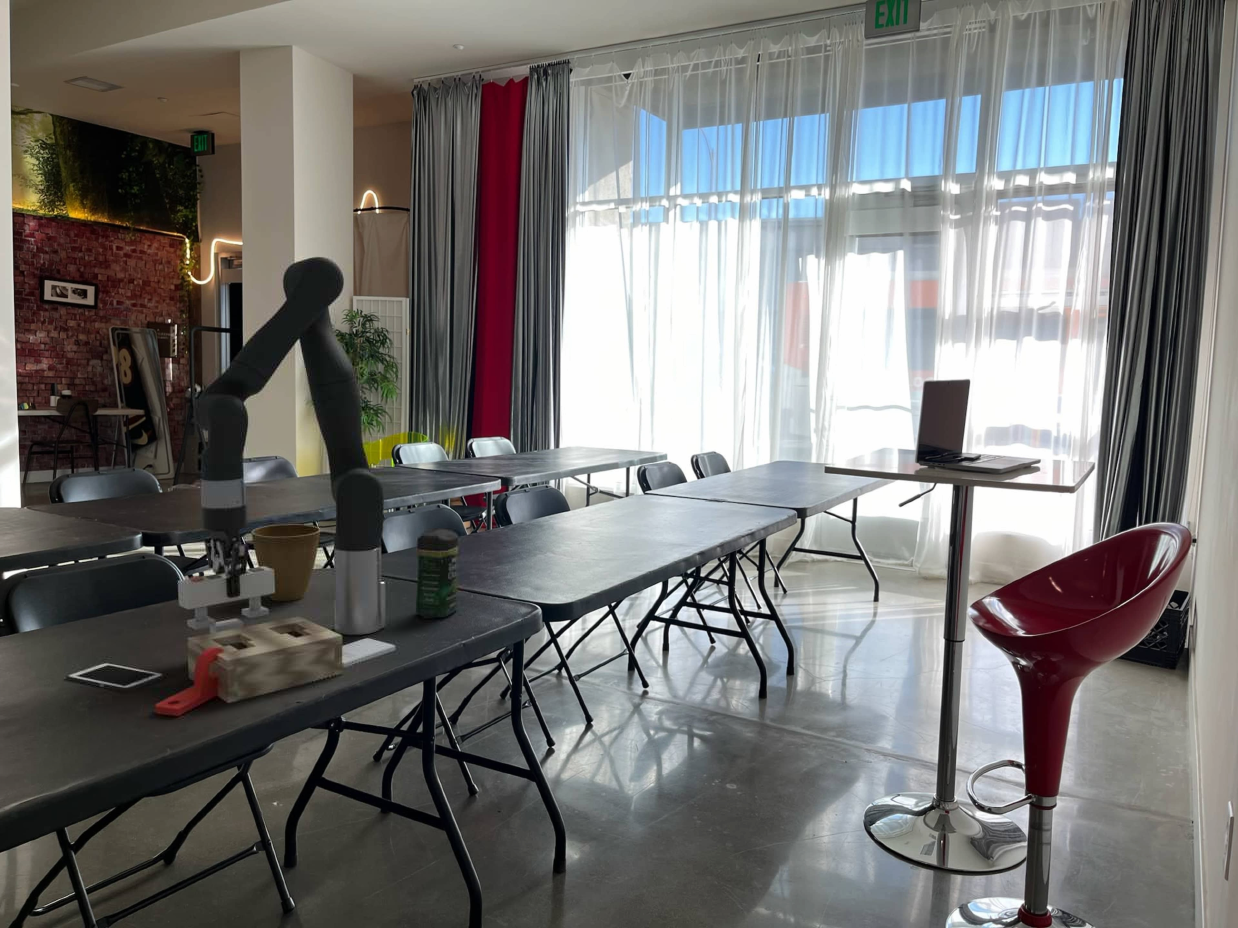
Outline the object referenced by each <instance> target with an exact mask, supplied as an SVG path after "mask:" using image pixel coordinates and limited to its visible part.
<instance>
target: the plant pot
mask: <svg viewBox="0 0 1238 928" xmlns="http://www.w3.org/2000/svg"><path fill="white" fill-rule="evenodd" d="M320 535H321V528H319V527H318V526H315V525H309V524H297V523H293V524H292V523H287V524H272V525H265V526H260V527H258V528H255V529H253V530H251V537H252V543H253V548H254V552H255V558H256V562H257V565H258V567H263V566H265V567H268V568H271V569H274V581H275V593H271V594H268V596H269V598H270V599H271V600H272V601H276V602H291V601H297V600H301V599H302V598H304V597H305V595H306V592H307V589H308V586H309V584H310V582H311V581H310V580H311V577H312V574H313V571H314V567H315V562H316V559H317V555H318V547H319V543H320Z"/></svg>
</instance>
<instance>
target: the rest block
mask: <svg viewBox="0 0 1238 928" xmlns="http://www.w3.org/2000/svg"><path fill="white" fill-rule="evenodd" d="M244 622H245V621H243V620H241V619H238V618H232V619H227V620H222V621H216V626H211V627H209V634H211V633H216V632H221V631H226V630H231V629H237V628H242V627H245V626H244V625H245V624H244Z"/></svg>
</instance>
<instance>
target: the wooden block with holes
mask: <svg viewBox="0 0 1238 928" xmlns="http://www.w3.org/2000/svg"><path fill="white" fill-rule="evenodd" d="M342 646H343V634H341V633H338V632H336V631H332V630H331V629H328V628H327V627H324V626H321V625H320V624H317V623H315V622H312V621H309V620H308V619H306V618H302V617H300V616H294V617H290V618H289V617H288V618H284V619H279V620H274V621H268V622H261V623H257V624H253V625H248V626H244V627H242V628H237V629H231V630H226V631H221V632H216V633H211V634H210V633H206V634H202V635H195V636H192V637H188V638H187V662H188V663H187V664H188V665H187V666H188V667H187V668H188V678H189V679H190V680H192V681H193V682H194V670H195V665H196V662H197V660H198V658H199V656H200V655H201V654H202V652H203V651H205V650H206V649H208V648H211V647H213V648H221V649H223V650H224V651H223V652H221V653H219V654H217V660H216V661H214V662H212V663H211V665H210V667H209V676H211V675H212V673H213V671H214V672H215V674H216V675H217V685H218V695H217V696H216V697H218V698H220V699H221V700H223V701H225V702H226V703H227V704H230V703H233V702H235V703H236V702H238V701H242V700H246V699H250V698H254V697H257V696H262V695H266V694H268V693H270V694H271V693H273V692H276V691H281V690H284V689H289V688H294V687H297V686H301V685H305V684H308V683H313V682H316V680H317V681H320V680H319V679H321V680H324V679H323V678H325V679H328V678H327V677H329V678H332V676H333V677H335V675H336V676H340V675H343V667H342ZM339 674H340V675H339ZM312 681H313V682H312Z"/></svg>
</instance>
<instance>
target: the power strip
mask: <svg viewBox="0 0 1238 928" xmlns="http://www.w3.org/2000/svg"><path fill="white" fill-rule="evenodd" d="M177 589H178V590H177V592H178V606H180V607H182V608H184V609H186V610H192V609H194V618H191V619H187V621H186V623H187V627H190V628H192V629H193V630H200V629H207V628H210V627H211V626H216V622H217V620H216V619H214V618H212V617H211V616H209V615H208V606H213V605H218V604H219V605H220V604H223V603H229V602H234V601H239V600H245V599H248V600H249V601H248V603H249V606H248V607H246V608H242V609H241V615H242V616H244V617H247V618H250V619H253V618H254V619H255V618H258V617H261V616H262V617H263V616H268V615H270V609H269V608H267V607H265V606H262V604H261V603H262V600H261V596H265V595H269V594H271V593H275V581H274V569H271V568H268V567H265V566H263V567H259V566H258V567H251V568H246V574H243V575H241V576H240V596H238V597H233V598H229V597H227V588H226V574H225V573H221V574H216V573H214V574H211V575H204V576H203V575H202V576H201V575H194V576H190V577H189V578H187V579H181V580H177Z"/></svg>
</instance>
